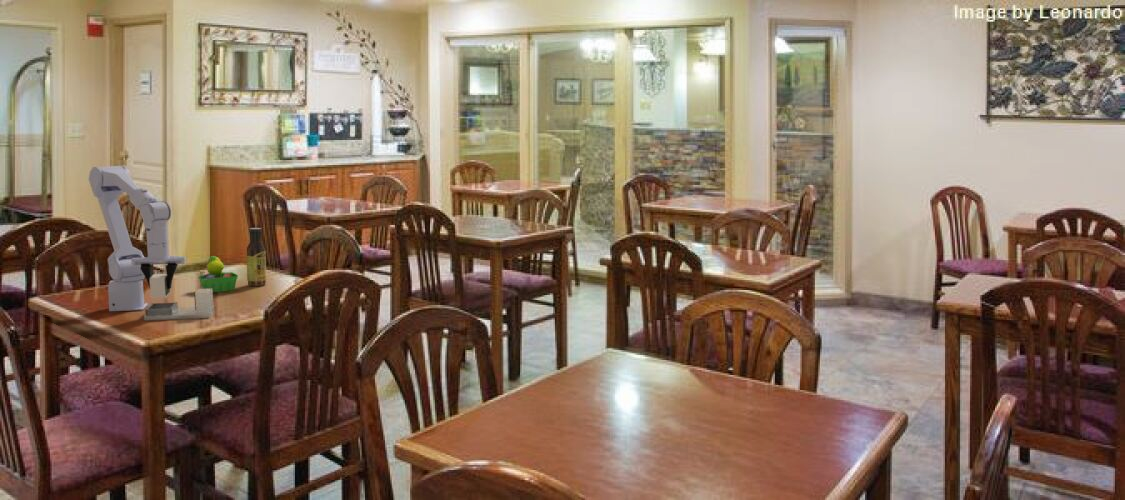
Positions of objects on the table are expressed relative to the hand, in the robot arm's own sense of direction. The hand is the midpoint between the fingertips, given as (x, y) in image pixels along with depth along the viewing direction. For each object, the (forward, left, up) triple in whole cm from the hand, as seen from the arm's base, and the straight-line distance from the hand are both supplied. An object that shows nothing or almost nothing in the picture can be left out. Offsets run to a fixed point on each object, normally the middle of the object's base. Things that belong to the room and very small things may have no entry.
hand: (160, 288), depth 269 cm
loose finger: (0, 0, -2) cm, 2 cm away
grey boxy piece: (+5, 0, -8) cm, 10 cm away
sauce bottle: (+23, +42, -8) cm, 49 cm away
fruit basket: (+11, +36, -9) cm, 39 cm away
